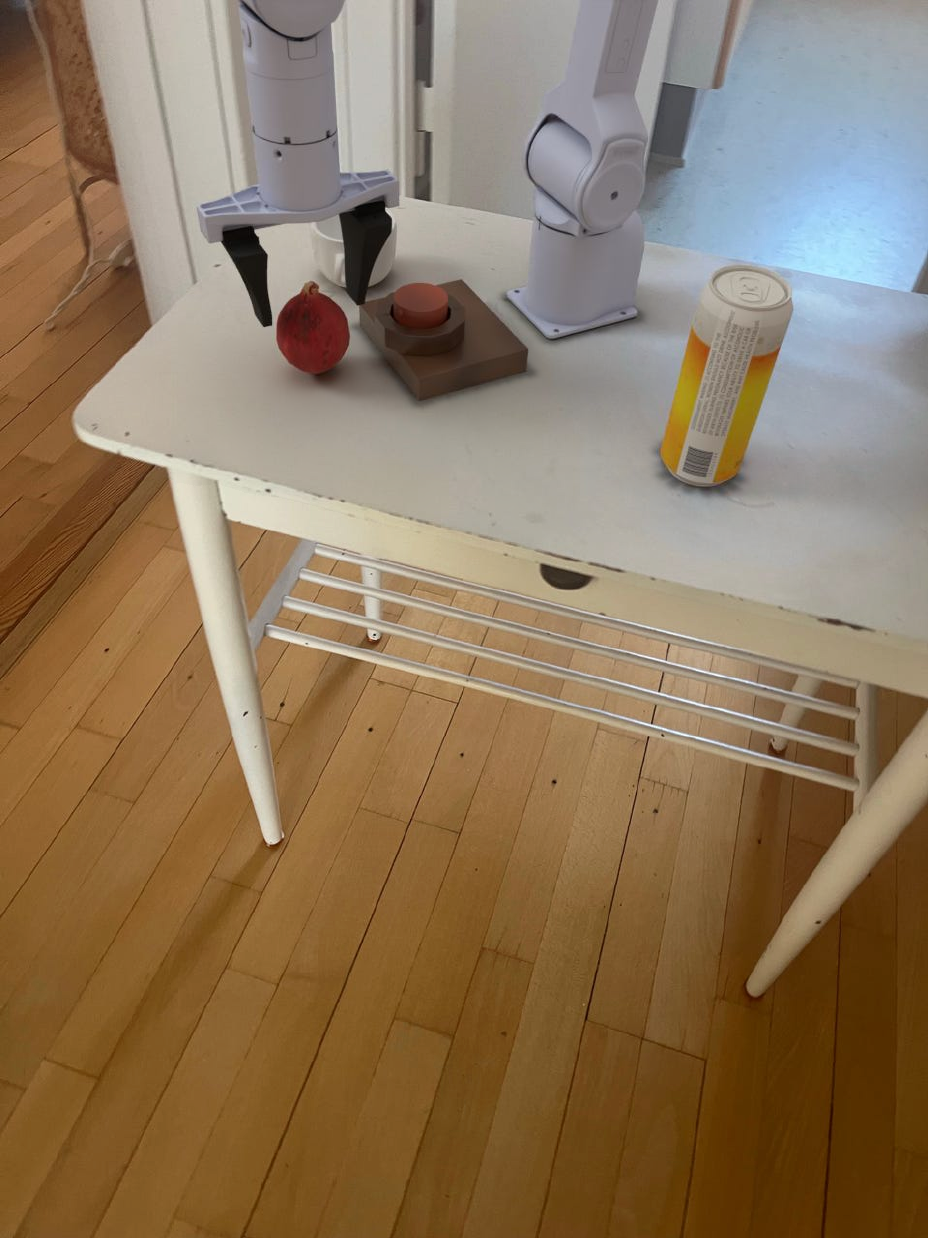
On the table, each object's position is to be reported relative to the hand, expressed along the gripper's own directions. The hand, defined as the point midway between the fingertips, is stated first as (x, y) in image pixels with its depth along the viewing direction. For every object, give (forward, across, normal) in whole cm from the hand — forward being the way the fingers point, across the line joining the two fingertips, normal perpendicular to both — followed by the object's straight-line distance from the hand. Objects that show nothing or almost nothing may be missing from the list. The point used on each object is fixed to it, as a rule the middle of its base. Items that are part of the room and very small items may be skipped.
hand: (310, 309), depth 74 cm
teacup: (+6, -8, -12) cm, 16 cm away
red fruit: (+6, 0, 0) cm, 6 cm away
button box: (+6, -11, +1) cm, 13 cm away
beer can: (+6, -22, +23) cm, 32 cm away
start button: (+2, -9, +1) cm, 9 cm away
